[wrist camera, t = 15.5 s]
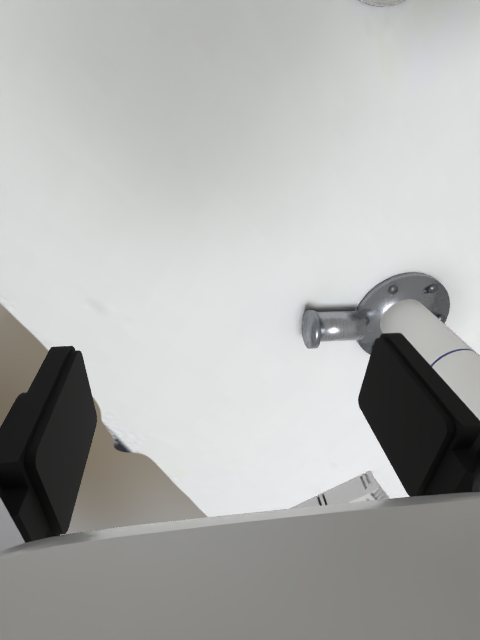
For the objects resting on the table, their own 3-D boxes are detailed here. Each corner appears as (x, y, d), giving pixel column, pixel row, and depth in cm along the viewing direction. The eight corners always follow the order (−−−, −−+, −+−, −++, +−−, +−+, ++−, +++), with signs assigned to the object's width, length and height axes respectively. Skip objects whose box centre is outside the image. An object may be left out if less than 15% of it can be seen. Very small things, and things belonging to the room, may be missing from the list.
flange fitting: (459, 271, 54) (485, 288, 49) (427, 351, 62) (447, 373, 57) (309, 274, 51) (322, 292, 46) (296, 358, 59) (306, 381, 54)
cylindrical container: (410, 290, 53) (556, 418, 32) (432, 317, 57) (578, 449, 36) (371, 321, 56) (484, 460, 35) (395, 345, 59) (511, 485, 38)
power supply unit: (396, 503, 89) (406, 524, 85) (281, 555, 95) (285, 576, 91) (368, 467, 79) (379, 488, 75) (243, 527, 86) (246, 549, 82)
